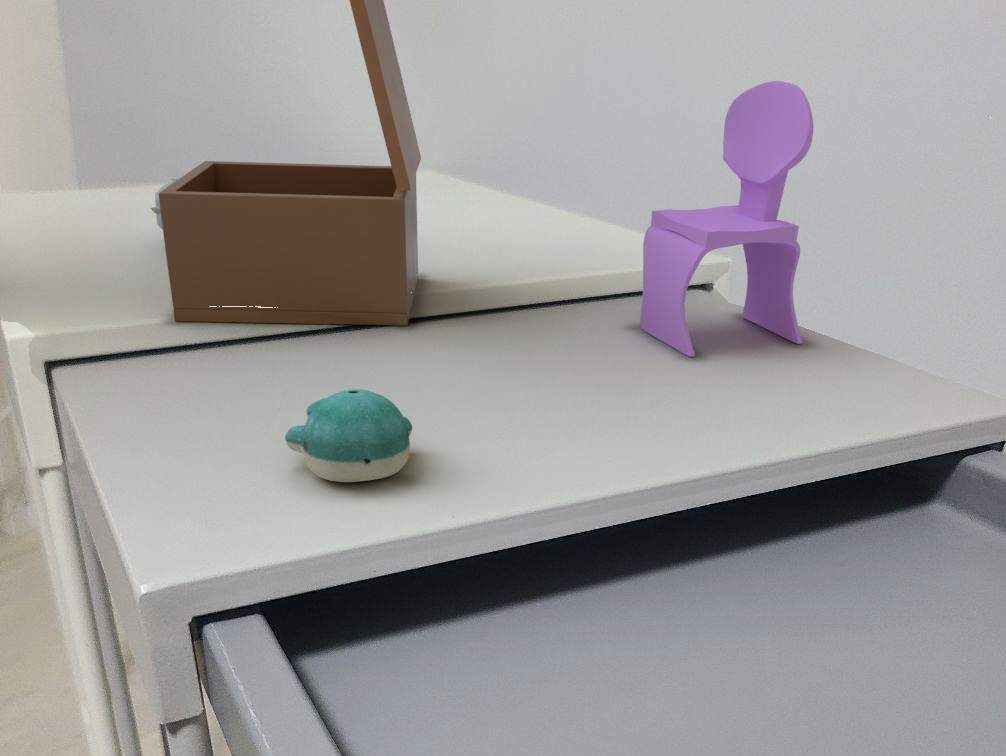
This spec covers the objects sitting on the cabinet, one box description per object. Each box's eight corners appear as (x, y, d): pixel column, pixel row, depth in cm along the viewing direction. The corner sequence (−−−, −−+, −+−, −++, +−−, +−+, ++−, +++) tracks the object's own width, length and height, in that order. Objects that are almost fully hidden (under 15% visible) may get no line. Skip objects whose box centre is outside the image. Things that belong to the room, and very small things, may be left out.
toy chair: (625, 324, 70) (643, 75, 63) (738, 312, 73) (767, 75, 66) (691, 363, 63) (720, 90, 56) (812, 348, 67) (853, 89, 60)
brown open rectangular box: (174, 321, 67) (157, 193, 64) (216, 273, 78) (204, 160, 74) (407, 325, 68) (404, 199, 64) (418, 277, 79) (415, 166, 75)
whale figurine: (298, 499, 46) (292, 416, 44) (276, 435, 52) (270, 360, 50) (431, 484, 47) (430, 403, 46) (395, 424, 53) (393, 350, 52)
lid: (324, -100, 57) (426, -124, 57) (349, -89, 68) (435, -109, 67) (398, 193, 64) (489, 173, 64) (410, 161, 75) (488, 144, 75)
